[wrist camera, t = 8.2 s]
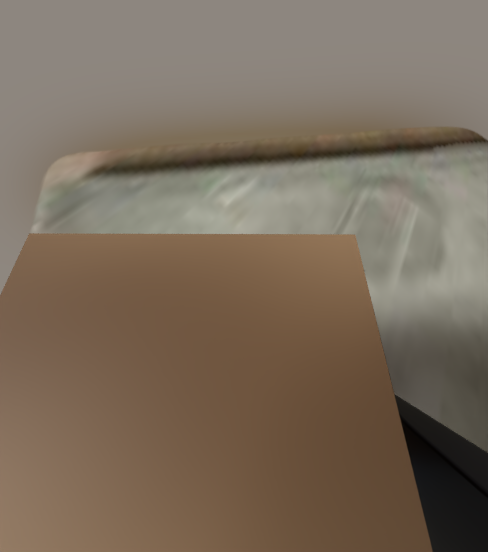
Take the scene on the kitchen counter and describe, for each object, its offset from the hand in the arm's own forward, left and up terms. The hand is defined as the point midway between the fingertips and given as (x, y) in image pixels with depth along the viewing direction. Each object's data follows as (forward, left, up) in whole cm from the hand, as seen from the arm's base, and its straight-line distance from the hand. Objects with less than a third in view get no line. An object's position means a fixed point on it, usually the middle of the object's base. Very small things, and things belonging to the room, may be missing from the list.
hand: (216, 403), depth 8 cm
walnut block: (0, 0, -9) cm, 9 cm away
